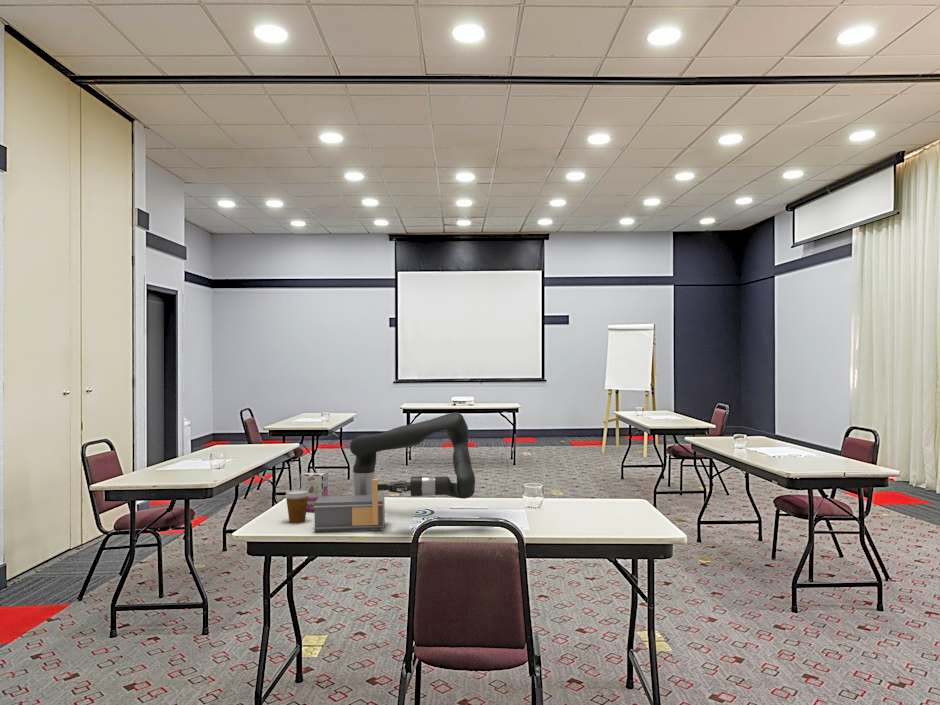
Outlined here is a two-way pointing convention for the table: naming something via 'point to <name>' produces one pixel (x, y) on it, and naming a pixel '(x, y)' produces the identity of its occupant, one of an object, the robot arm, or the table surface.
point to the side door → (367, 510)
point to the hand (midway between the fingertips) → (377, 487)
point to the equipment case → (344, 512)
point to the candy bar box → (314, 487)
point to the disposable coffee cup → (297, 505)
